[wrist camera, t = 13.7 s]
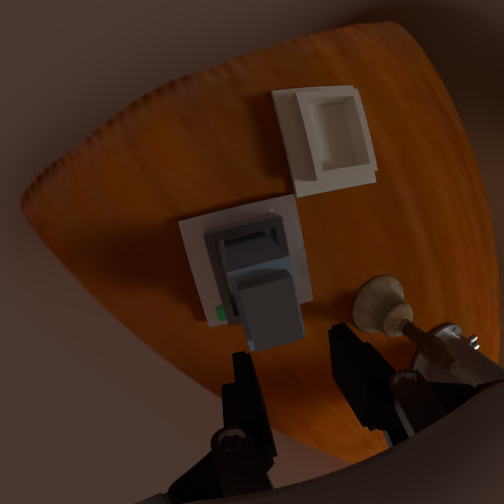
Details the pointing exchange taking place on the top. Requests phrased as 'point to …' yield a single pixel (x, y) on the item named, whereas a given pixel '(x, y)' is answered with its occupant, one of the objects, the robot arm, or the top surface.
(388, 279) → the hand bell
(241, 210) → the port
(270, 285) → the plug
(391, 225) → the top surface
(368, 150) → the box
